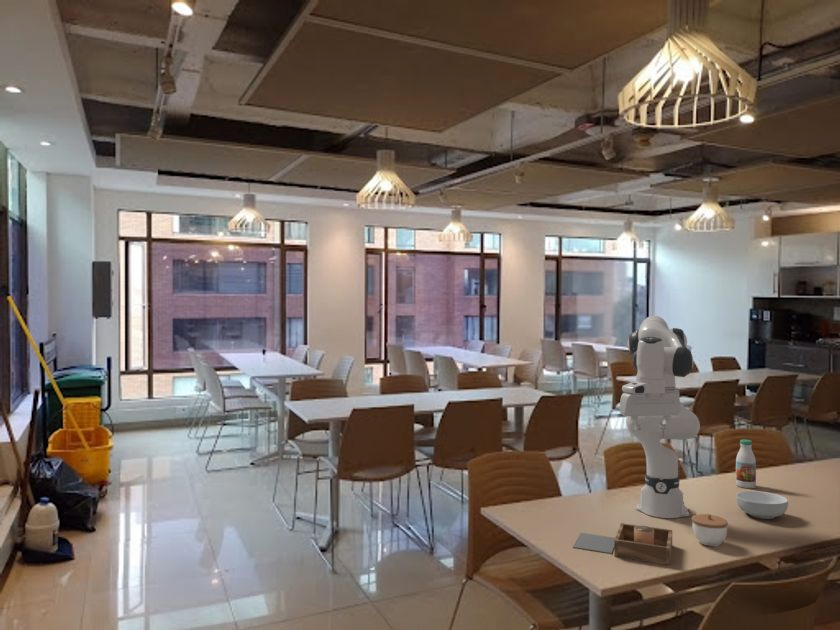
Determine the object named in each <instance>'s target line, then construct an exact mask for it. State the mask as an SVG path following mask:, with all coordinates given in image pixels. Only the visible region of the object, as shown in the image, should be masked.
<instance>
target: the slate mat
mask: <svg viewBox="0 0 840 630" xmlns="http://www.w3.org/2000/svg"><path fill="white" fill-rule="evenodd" d="M614 540H615V537H613V536H611V537H610V536H606V535H599V534H592V533H585V532H580V534H579V535H578V536H577V539H576V541H575V543H574V544H573V546H572V548H573V549H577V548H578V549H579V550H585V551H591V552H592V551H593V552H598V553H605V554H610V555H612V554H613V553H614V552H613V551H614Z"/></svg>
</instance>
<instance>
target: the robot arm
mask: <svg viewBox="0 0 840 630" xmlns="http://www.w3.org/2000/svg"><path fill="white" fill-rule="evenodd" d="M626 345H627V349H628V352H630V355H631V356H632V357H633V366H632V368H634V370H635V371H637V373H636V377H635V378H636V380H634V381H632V382H629V383H626V384H624V385H622V386H621V391H622V394H621V396H620V400H619V401H620V402H619V413H620V414H621V415H622V416H624V417H626V421H625V423H626V428H627V430H628V432H629V433H630V434H631V435H632V436H633V437H635V438H636V439H637V440H638V442H639V443H640V444H641V446H642V448H643V451H644V454H645V459H646V461H645V462H646V463H645V465H646V473H645V474H644V475H645V476H644V480H645V484H644V486H643V487H641V489H640V502H639V503H638V504H637V505H636V506H635V511H639V512H642V513H643V514H645V515H648V516H652V517H656V518H660V519H662V518H663V519H678V518H682V517H683V518H684V517H685V518H686V517H690V512H689V511H688V508H687V507H686V506H685V502H684V492H683V491H682V490H681V489H680V488H679V487H680V476H679V457H678V455H677V453H676V452H675V451H673V450H672V449H670V448H669V447H666V446H665V445H663V444H662V443H661V440H664V439H665V440H679V441H680V440H691V439H694V438H696V437H697V435H698V434H699V432H700V429H701V424H700V423H701V422H700V420H699V418H698V416H697V415H696V414H695V413H694V412H693V411H690V410H689V409H688V408H687V407H685V406H684V404H683V403H682V402H681V400H680V399H681V398H680V390H679V389H678V388H677V386H676V385H677V383H676V377H677V378H685V377H687V376H688V375H689V374H690V373H691V372H693V368H694V357H693V354H692V351H691V350H690V349H689V347H688V348H687V346H688V338H687V335H686V333H685V332H684V330H683V329H682V328H681V329H680V328H678V327H677V328H676V327H673V328H669V325H668V322H666V320H665V319H664V318H663V317H661V316H658V315H651V316H647V317H646V318H645V319H644V320H643V321H642V322H641V323H640V326H639V329H638V328H637V329H635V331H633V332H631V333H630V334H629V335H628V339H627V344H626Z"/></svg>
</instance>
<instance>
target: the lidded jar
mask: <svg viewBox="0 0 840 630" xmlns="http://www.w3.org/2000/svg"><path fill="white" fill-rule="evenodd" d="M728 523H729V522H728V520H727V519H725V518H723V517H720V516H717V515H713V514H711V513H706V514H701V513H700V514H694V515H692V516H691V527H692V531H693V535H694V537H695V539H696V540H698V541H699V543H700V544H701V543H702V544H701V545H703V544H704V545H703V546H706V545H710V546H709V547H718V545H719V546H720V544H722V543H723V542H724V541H725V540H726V537H727V534H728V525H729V524H728Z"/></svg>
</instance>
